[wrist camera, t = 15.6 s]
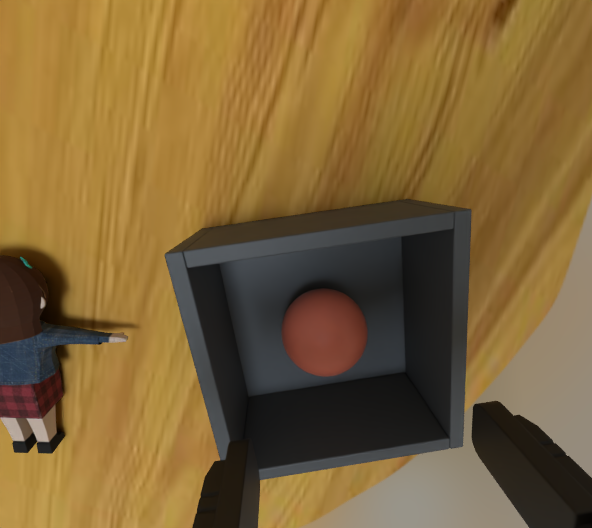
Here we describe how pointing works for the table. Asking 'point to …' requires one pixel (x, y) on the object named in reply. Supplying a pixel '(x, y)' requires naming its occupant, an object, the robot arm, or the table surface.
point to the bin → (380, 324)
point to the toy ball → (324, 332)
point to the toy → (32, 357)
